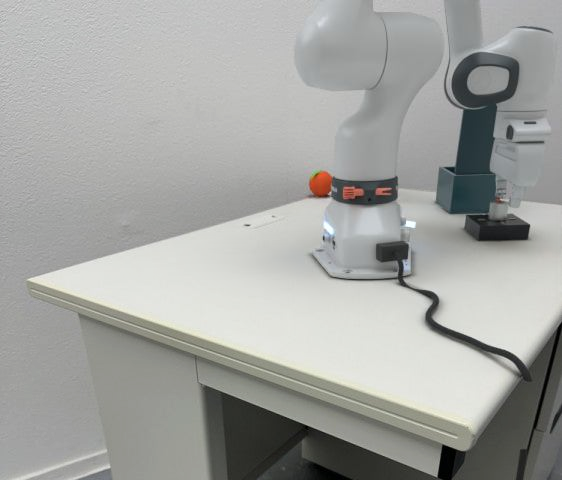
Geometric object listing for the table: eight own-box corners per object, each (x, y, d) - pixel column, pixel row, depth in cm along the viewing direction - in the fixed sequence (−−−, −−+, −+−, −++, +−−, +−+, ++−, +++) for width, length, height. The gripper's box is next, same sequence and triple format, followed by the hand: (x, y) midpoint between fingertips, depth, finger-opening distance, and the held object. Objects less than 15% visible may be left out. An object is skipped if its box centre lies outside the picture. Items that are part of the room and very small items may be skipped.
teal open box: (435, 201, 145) (439, 166, 141) (479, 200, 145) (484, 165, 141) (449, 213, 132) (454, 175, 128) (497, 212, 132) (504, 174, 128)
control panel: (527, 239, 110) (530, 223, 109) (478, 240, 111) (480, 225, 109) (510, 227, 119) (512, 212, 118) (464, 228, 119) (466, 214, 118)
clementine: (320, 200, 151) (320, 173, 148) (301, 197, 156) (301, 171, 152) (338, 195, 156) (338, 169, 153) (319, 192, 161) (319, 167, 157)
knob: (508, 221, 112) (512, 202, 110) (491, 221, 112) (494, 202, 110) (502, 217, 115) (505, 198, 113) (485, 217, 115) (488, 199, 113)
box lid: (464, 100, 120) (465, 100, 119) (517, 98, 119) (519, 98, 119) (454, 173, 128) (455, 174, 127) (503, 171, 128) (504, 172, 127)
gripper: (487, 123, 113) (478, 193, 119) (518, 132, 95) (505, 213, 101) (519, 123, 112) (507, 192, 119) (555, 131, 94) (540, 212, 101)
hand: (506, 202), depth 110 cm, fingers open, 8 cm apart
